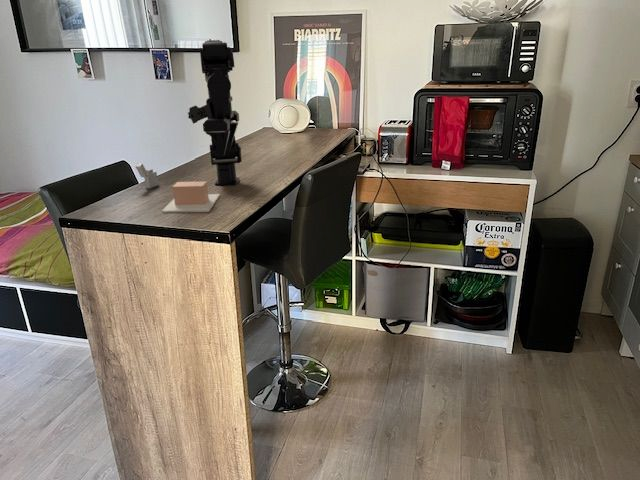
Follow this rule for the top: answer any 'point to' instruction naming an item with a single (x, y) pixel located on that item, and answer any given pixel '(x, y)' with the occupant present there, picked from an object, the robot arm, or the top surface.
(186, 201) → the tan rectangular block
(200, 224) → the top surface
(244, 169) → the top surface
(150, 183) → the grey jagged block
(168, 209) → the mat
